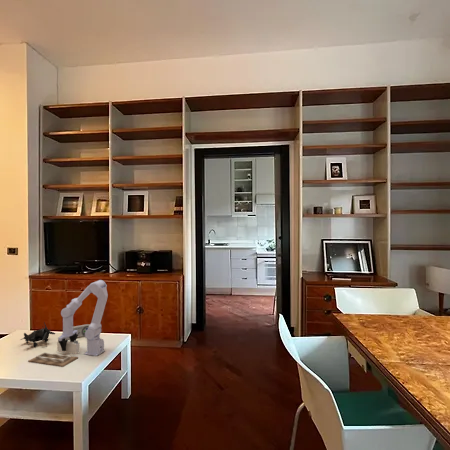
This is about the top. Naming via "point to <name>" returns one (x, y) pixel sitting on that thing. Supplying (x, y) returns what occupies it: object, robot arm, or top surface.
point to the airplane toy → (38, 335)
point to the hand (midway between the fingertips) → (68, 348)
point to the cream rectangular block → (69, 347)
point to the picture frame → (53, 359)
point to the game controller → (80, 330)
